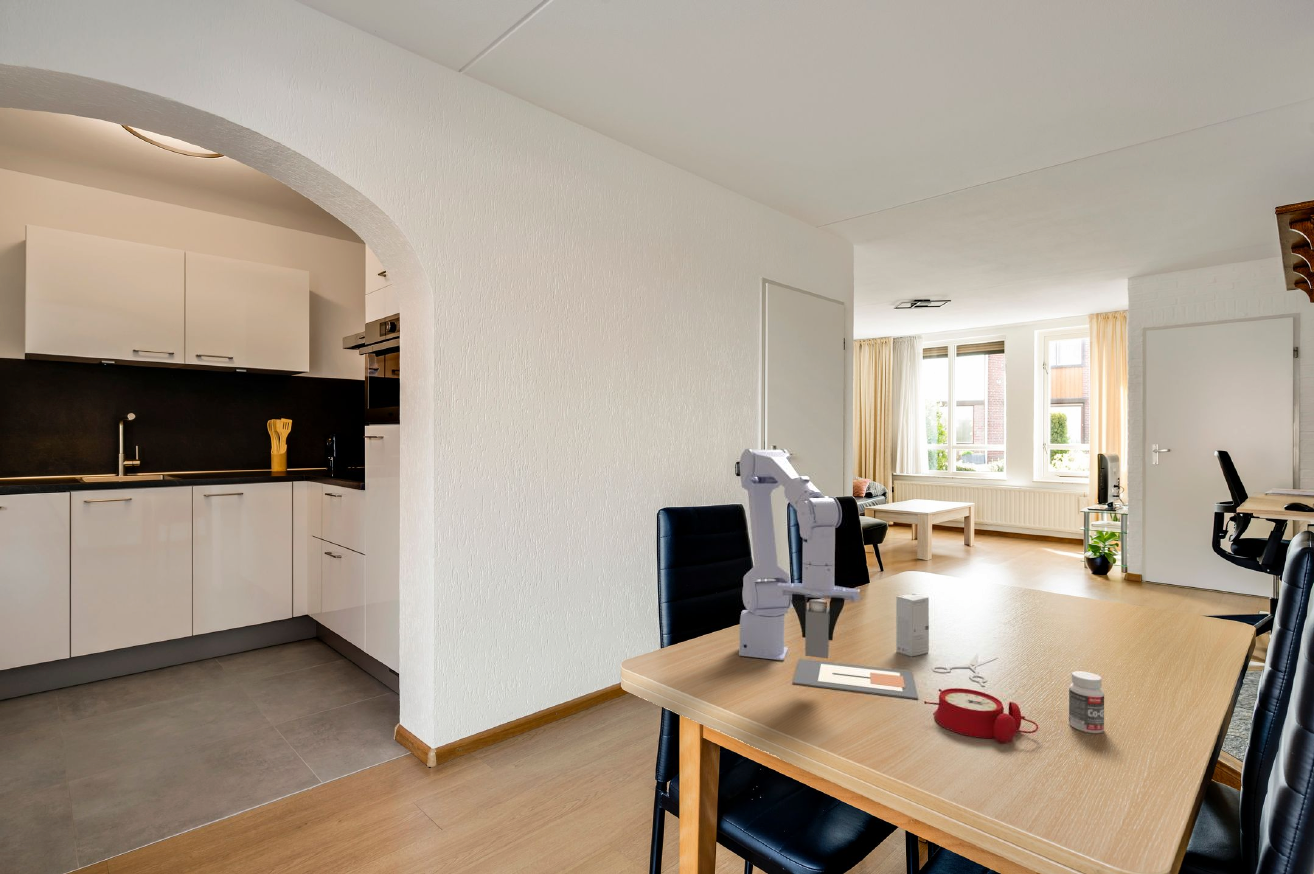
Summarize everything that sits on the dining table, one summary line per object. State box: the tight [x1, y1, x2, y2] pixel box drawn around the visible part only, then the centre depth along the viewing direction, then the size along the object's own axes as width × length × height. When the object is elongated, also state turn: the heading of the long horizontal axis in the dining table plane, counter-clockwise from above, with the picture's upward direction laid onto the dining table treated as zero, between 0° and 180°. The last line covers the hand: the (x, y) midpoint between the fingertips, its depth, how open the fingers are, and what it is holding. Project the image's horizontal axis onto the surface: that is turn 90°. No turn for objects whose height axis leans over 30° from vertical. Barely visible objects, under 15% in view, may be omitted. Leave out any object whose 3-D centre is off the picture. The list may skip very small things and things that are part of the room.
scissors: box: [931, 653, 998, 688], centre depth 131 cm, size 11×1×20 cm
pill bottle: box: [1068, 670, 1105, 734], centre depth 104 cm, size 5×5×8 cm
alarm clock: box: [924, 687, 1039, 744], centre depth 103 cm, size 11×6×15 cm
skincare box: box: [895, 593, 930, 657], centre depth 140 cm, size 6×4×12 cm
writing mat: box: [792, 658, 919, 700], centre depth 124 cm, size 22×14×1 cm, turn 72°
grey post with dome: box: [804, 598, 830, 659], centre depth 117 cm, size 4×4×10 cm
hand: (817, 637), depth 117 cm, fingers closed on grey post with dome, 4 cm apart
